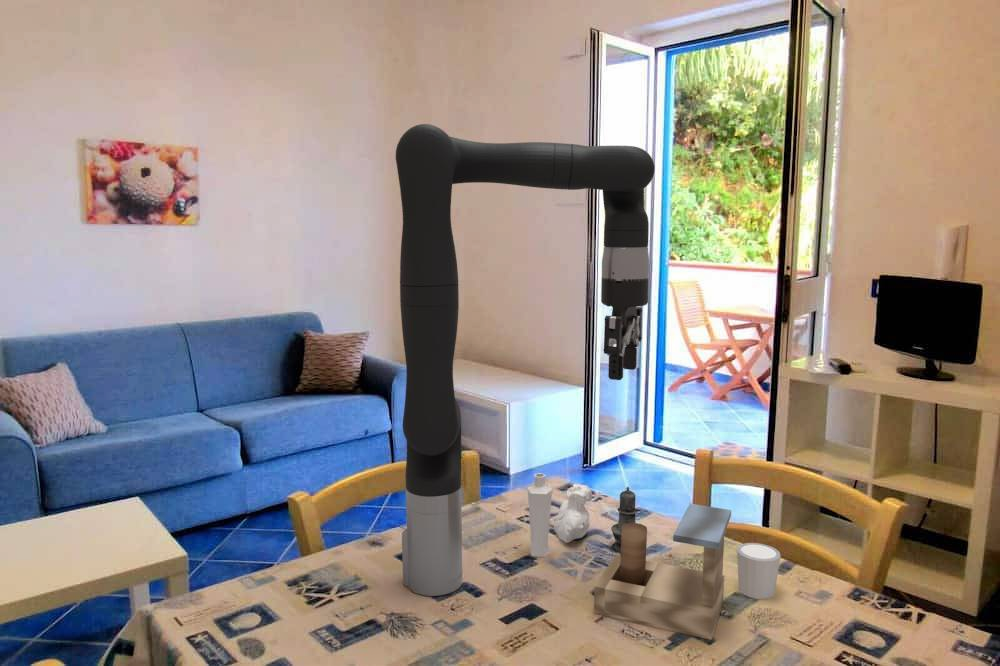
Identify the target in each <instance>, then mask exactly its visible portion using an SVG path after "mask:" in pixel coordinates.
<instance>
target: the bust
mask: <svg viewBox="0 0 1000 666" xmlns="http://www.w3.org/2000/svg"><path fill="white" fill-rule="evenodd" d="M565 493H566V498H567V499H565V500H564V501H563V502H562V503H561V505H560V507H559V509H558V513H557V516H556V519H555V521H554V524H553V529H554V532H555V534H556V535H557V536H558V539H559V540H561V541H563V542H564V543H565V544H569V543H570V542H572V541H574V540H577V539H581V538H583V537H584V536H585V535H586V534H587V532H588V530H589V529H590V528H589V527H590V511H588V510H587V508H586V506H585V504H586V503H588V502H590V501H592V499H593V493H592V490H591V489H590V487H589V486H588V485H585V484H584V485H583V484H582V485H581V484H579V483H573V485H572V486H571V487H569V489H567V490H566V492H565Z"/></svg>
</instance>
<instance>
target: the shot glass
mask: <svg viewBox="0 0 1000 666" xmlns="http://www.w3.org/2000/svg"><path fill="white" fill-rule="evenodd" d="M736 554H737V556H736V558H737V578H738V591H739V592H740V593H741V594H742V595H745V596H746V597H749V598H751V599H757V600H768V599H771V598H773V597H774V595H775V593H776V587H777V581H778V575H779V567H780V564H781V563H780V562H781V553H780V551H779V550H778V549H777V548H775V547H773V546H770V545H767V544H763V543H760V542H745V543H742V544H738V546H736Z"/></svg>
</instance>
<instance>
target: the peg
mask: <svg viewBox="0 0 1000 666" xmlns="http://www.w3.org/2000/svg"><path fill="white" fill-rule="evenodd" d="M647 540H648V527H647V526H646V525H644V524H641V523H638V522H636V523H626V524H623V525H622V532H621V552H620V556H621V561H620V582H625V583H630V584H635V585H640V586H645V569H646V561H647V545H648V544H647Z"/></svg>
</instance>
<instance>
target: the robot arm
mask: <svg viewBox="0 0 1000 666" xmlns="http://www.w3.org/2000/svg"><path fill="white" fill-rule="evenodd" d="M395 163H396V169H397V176H398V177H397V178H398V182H399V183H398V184H399V189H400V190H399V191H400V199H401V209H402V211H401V212H402V230H401V231H402V233H401V244H400V261H399V262H400V263H399V299H400V303H399V304H400V317H401V318H400V319H401V331H402V339H403V348H404V356H405V364H406V365H405V366H406V368H405V369H406V381H405V397H404V398H405V399H404V408H403V417H402V432H403V435H404V438H405V439H406V461H405V464H406V465H405V475H404V477H405V505H406V506H405V507H406V511H405V513H406V528H405V529H404V530H403V531H402V533H401V548H402V549H401V551H402V553H401V554H402V557H401V558H402V585H403V586H406V587H408V588H409V589H410V591H412V592H414V593H415V594H418V595H422V596H427V597H437V596H438V597H439V596H445V595H448V594H451V593H454V592H455V591H457V590H458V589H459V588H460V587H462V585H463V533H462V532H463V529H462V527H463V526H462V525H463V524H462V521H463V520H462V519H463V517H462V511H463V510H462V412H461V409H460V405H459V402H457V400H456V396H455V388H454V387H455V385H454V359H455V358H454V357H455V351H456V350H455V349H456V344H457V343H456V342H457V335H458V325H459V309H460V307H459V303H460V302H459V301H460V300H459V299H460V298H459V297H460V296H459V295H460V294H459V271H458V260H457V253H456V247H455V240H454V234H453V229H452V218H451V217H452V216H451V212H452V209H451V208H452V193H453V191H452V189H453V185H457V184H466V183H467V184H468V183H470V184H472V183H482V184H483V183H486V184H487V183H488V184H489V183H491V184H500V185H501V184H503V185H512V186H520V187H529V188H541V189H551V190H552V189H553V190H566V191H567V190H569V191H572V190H573V191H576V190H586V189H589V190H590V189H591V190H599V191H601V190H602V200H603V209H604V224H603V227H604V229H603V230H604V231H603V253H602V256H601V257H602V258H601V283H600V284H601V286H600V287H601V288H600V289H601V290H600V291H601V295H600V296H601V297H600V302H601V303H602V305H603V306H608V307H611V308H612V311H611V315H605V317H604V331H603V333H604V334H603V335H604V337H603V353H604V354H605V355H606V356H608V379H609V380H615V381H621V380H622V379H623V378H624V370H629V371H631V370H632V371H634V370H635V369H637V365H638V363H637V362H638V361H637V360H638V359H637V357H638V347H639V346H640V342H642V339H643V335H642V331H643V329H642V324H643V323H642V319H643V315H642V314H643V308H642V307H644V306H646V305H648V303H649V291H650V290H649V289H650V288H649V287H650V286H649V285H650V256H649V231H650V229H649V227H650V226H649V225H650V223H649V217H648V214H647V212H646V210H645V188H646V187H648V185H650V183H651V182H652V180H653V178H654V175H655V171H656V170H655V169H656V168H655V163H654V159H653V158H652V156H651V155H650V153H648V152H647V151H646V150H645V149H643V148H641V147H638V146H633V145H591V146H590V145H581V144H573V143H562V142H545V141H544V142H542V141H541V142H538V141H537V142H535V141H530V142H529V141H528V142H525V141H524V142H507V143H506V142H505V143H504V142H503V143H501V142H500V143H495V142H494V143H493V142H480V141H472V140H466V139H462V138H457V137H454V136H449V135H448V134H447V132H445V131H444V130H443V129H442V128H440V127H438V126H436V125H432V124H429V123H420V124H417V125H414V126H412V127H410V128H408V129H407V130H406V131H405V132H404V133H403V134H402V136H401V137H400V139H399V140H398V143H397V145H396V150H395ZM614 345H615V346H614Z"/></svg>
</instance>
